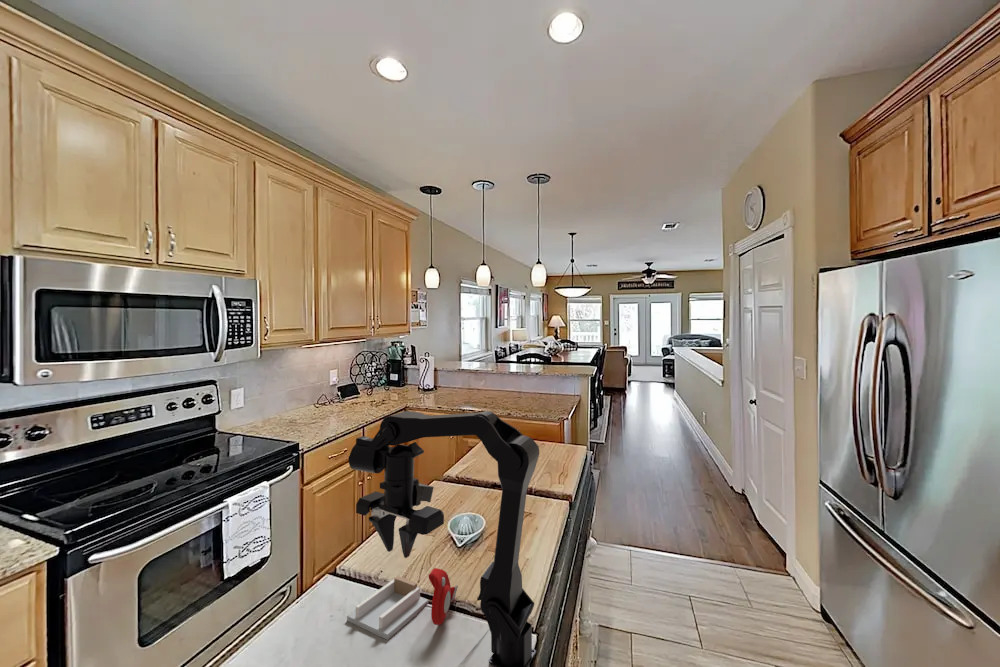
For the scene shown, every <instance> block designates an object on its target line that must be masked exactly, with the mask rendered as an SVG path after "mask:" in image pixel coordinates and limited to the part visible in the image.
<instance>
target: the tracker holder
mask: <svg viewBox="0 0 1000 667" xmlns="http://www.w3.org/2000/svg"><path fill="white" fill-rule="evenodd" d="M428 579H429V582H430V583H431V585H432V587H433V595H432V600H431V610H430V611H431V614H430V615H431V622H432V623H433V624H434V625H436V626H441V625H442V624H443V623H444V622H445V619H446V617H447V614H448V612H449V610H450V607H451V603H453V602H454V601H455V600H456V596H457V591H458V587H459V585H458V584H456V585H455V586H451V582H450V578H449V574H448V573H447V572H446V571H445V570H443V569H441V568H436V567H434V568H433V569H432V570H431V572H430V573H429V574H428Z"/></svg>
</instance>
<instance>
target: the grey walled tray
mask: <svg viewBox="0 0 1000 667" xmlns="http://www.w3.org/2000/svg"><path fill="white" fill-rule="evenodd" d="M393 578H394V579H392V580H391V581H389V582H388V583H386V584H385V585H384V586H382V587H380V588H379V589H377V591H375V592H373V593H372V594H371V595H369V596H368V597H367V598H365V599H364V600H362V601H361V602H359V603H358V604H356V605H355V609H354V610H353V611H351V612H350V613H349V614H347V616H346V621H347V622H349V623H351V624H353V625H355V626H357V627H359V628H361V629H364V630H366V631H368V632H370V633H372V634H373V635H374V634H375V635H376V636H379V637H381V638H382V639H385V640H387V641H389V639H390V638H392V637H393V636H394V635H395V634H396V633H397V632H398V631H400V630H401V629H402V628H403V627H404V626H406V625H407V624H408V623H410V621H411V620H413V618H415V617H416V616H417V615H418V614H419V613H420V612H421V611H422V610H423V609H424V608H425V607H426V606H427V605H428V604H429V599H427V598H425V597H422V596H421V588H420V587H418V583H417V582H415V581H413V580H409V579H406V578H404V577H401V576H399V575H397V576H395V577H393Z"/></svg>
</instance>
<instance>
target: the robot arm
mask: <svg viewBox="0 0 1000 667" xmlns="http://www.w3.org/2000/svg"><path fill="white" fill-rule="evenodd" d="M463 436H467V437H468V436H476V437H477V438H478V439H479V440H480V441H481V443H482V445H483V447H484V448H485V450H486V451H487V453H488V455H490V456H491V457H492V458H493V459H494V460H495V461H496V462H497V475H498V479H499V483H500V486H501V497H500V498H501V499H500V506H499V515H498V516H499V517H498V524H497V531H496V532H497V533H496V541H495V549H494V550H495V551H494V558H493V561H492V562H491V563H490V564H489V566H488V568H486V570H485V571H484V573H483V574H482V575H481V577H480V578H479V579H480V580H479V581H480V582H479V595H478V597H477V601H480V611H481V613H482V614H483V615H484V616H485V619H486V622H487V625H488V628H489V631H490V638H491V639H490V640H491V642H490V643H491V644H490V645H491V646H490V648H491V650H490V651H491V653H492V655H491V656H490V657H489V658H488V664H489V665H491V666H494V667H529V665H530V663H531V662H532V661H533V659H534V658H535V656H536V653H537V650H536V649H535V648H533V640H532V639H533V635H532V634H533V633H532V632H533V626H532V623H530V622H528V619H529V618H530V616H531V614H532V613H533V610H534V608H535V602H534V601H533V600H532V599H531V597H530V596H529V594H528V593H527V592H526V591H525V589H524V588H523V576H522V572H521V568H520V565H519V559H520V558H519V556H520V551H521V550H520V549H521V542H522V533H523V525H524V517H525V508H526V503H527V502H526V500H527V494H528V493H527V492H528V488H529V485H530V483H531V480H532V479H533V475H534V472H535V470H536V467H537V463H538V460H539V457H540V456H539V455H540V446H539V445H538V444H537V443H536V441H535V440H534V439H533V438H531V437H529V436H528V435H524V434H523V433H522V432H521V431H520V430H518V429H517V428H516V427H514V426H513V425H511V424H509V423H507V422H506V421H504V420H503V419H501V418H500V417H499V416H498V415H497V414H495V412H493V411H491V410H484V411H482V412H467V413H464V412H463V413H450V414H436V415H435V414H433V415H429V414H425V413H422V412H417V411H411V410H405V411H400V412H398V413H394V414H391V415H387V416H385V417H384V418H382V421H381V422H380V426H379V429H378V432H377V433H376V434H375V436H374V437H373V438H371V437H369V436H359V437H356V438H355V445H353V446H352V448H351V450H350V453H349V456H348V464H349V467H350V469H352V470H354V471H360V472H366V473H372V474H380V473H382V472H383V471H384V474H383V476H384V481H382V482H379V489H381V490H383V491H384V493H383V492H379V491H373V492H370V493H369V494H366V495H363V496H362V497H361V496H360V497H359V498H358V500H357V502H356V504H355V514H359V515H361V516H367V515H369V513H370V512H371V516H369V517H368V521H369V522H371V524H372V526H373V528H375V530H376V532H377V535H379V538H380V540H381V541H382V543H383V546H384V547H385V549H386V551H387V552H388V553H390V552H392V551H393V550H394V544H395V521H396V519H397V517H399V518H401V519H404V520H405V519H406V520H405V525H403V526H401V527H399V528H398V533H399V538H400V540H399V541H400V544H401V552H402V554H403V558H404V559H407V558H409V557H410V556H411V553H412V550H413V547H414V544H415V541H416V539H417V536H418V534H419V535H428V534H430V533H431V532H433V531H434V530H436V529H437V528H439V527H441V526H442V525H444V522H445V514H444V511H443V510H442V509H440V508H437V507H433V506H429V505H426V506H425V507H422V508H421V509H417V510H416V509H414V507H418V506H419V505H421V502H426V503H431V501H432V497H433V492H434V488H435V487H434V486H432V485H429V484H424V483H420V481H419V479H418V478H414V477H415V476H414V474H415V473H414V472H415V458H417V457H419V456H421V455H422V454H424V453H425V450H424V449H423V448H422V447H421V446H419V445H418V443H417V442H416V441H417V440H419V439H423V438H440V437H441V438H442V437H463ZM415 440H416V441H415ZM412 441H413V442H412ZM409 442H412V443H410V444H408V445H407V444H406V443H409Z"/></svg>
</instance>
